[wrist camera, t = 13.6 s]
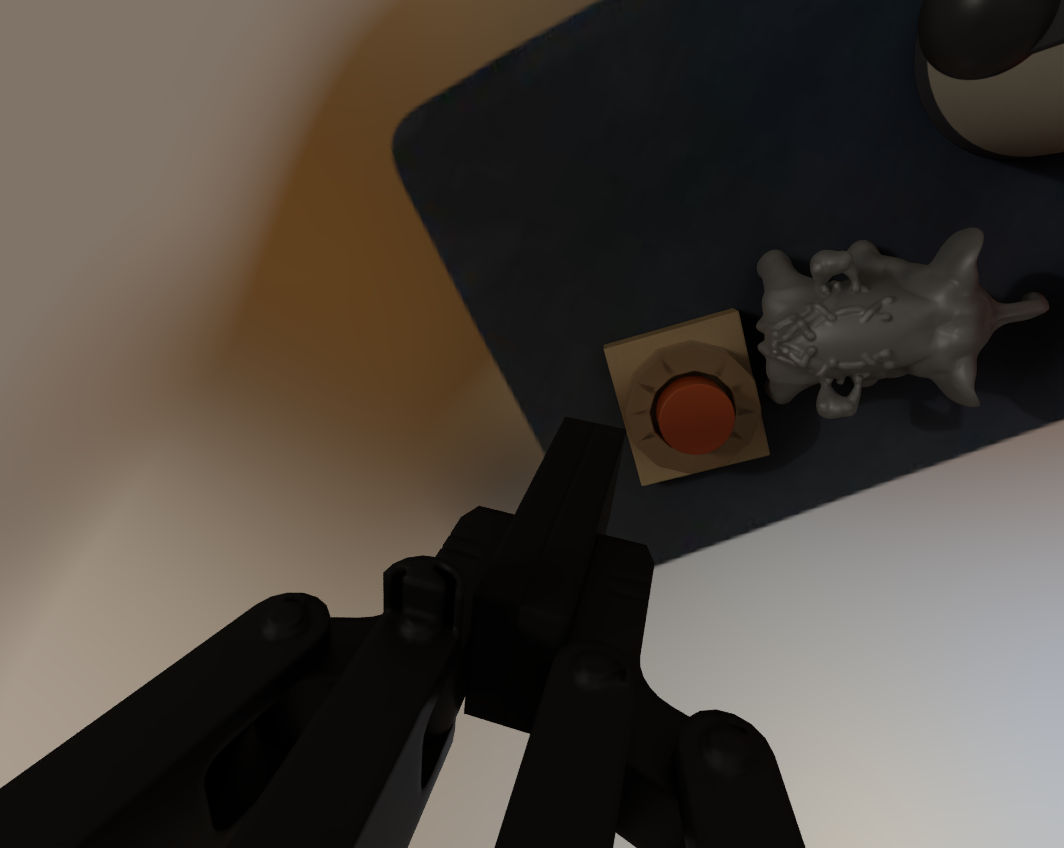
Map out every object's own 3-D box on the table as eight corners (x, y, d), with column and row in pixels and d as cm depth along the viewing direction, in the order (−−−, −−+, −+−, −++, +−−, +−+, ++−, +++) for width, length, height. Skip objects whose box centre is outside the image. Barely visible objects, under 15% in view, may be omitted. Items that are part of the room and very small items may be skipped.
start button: (648, 386, 33) (651, 395, 31) (719, 366, 32) (726, 374, 30) (665, 451, 34) (669, 463, 32) (735, 433, 33) (742, 445, 31)
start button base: (603, 345, 35) (604, 355, 32) (733, 307, 34) (746, 315, 31) (640, 478, 37) (644, 499, 34) (764, 447, 36) (779, 467, 33)
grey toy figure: (710, 276, 33) (744, 291, 26) (948, 155, 31) (1059, 135, 23) (779, 429, 35) (828, 483, 28) (1007, 329, 33) (1127, 359, 25)
